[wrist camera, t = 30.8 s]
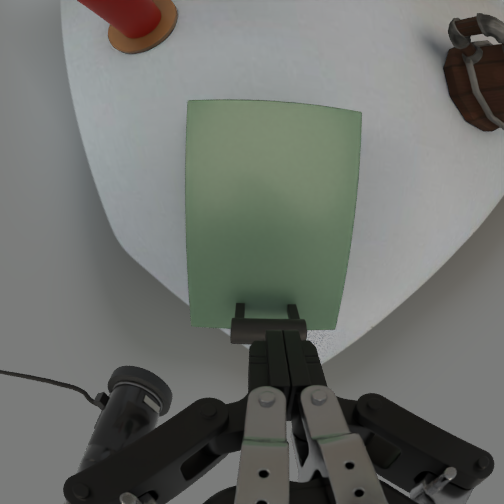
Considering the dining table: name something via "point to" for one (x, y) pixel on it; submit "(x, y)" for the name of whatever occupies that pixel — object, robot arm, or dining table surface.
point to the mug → (477, 71)
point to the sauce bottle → (127, 15)
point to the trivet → (149, 40)
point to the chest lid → (269, 214)
